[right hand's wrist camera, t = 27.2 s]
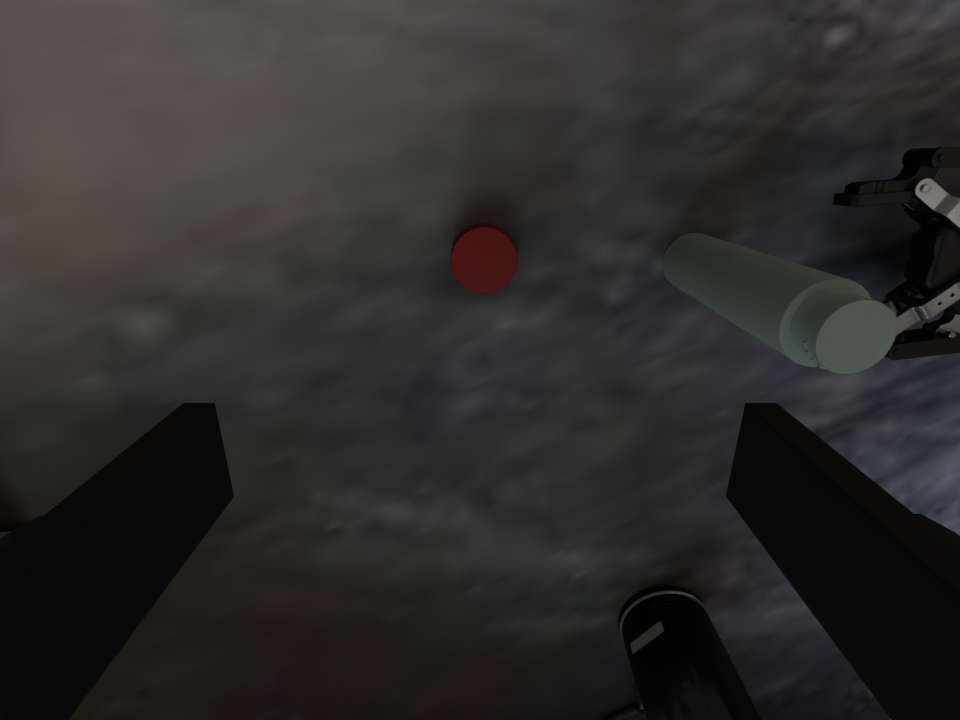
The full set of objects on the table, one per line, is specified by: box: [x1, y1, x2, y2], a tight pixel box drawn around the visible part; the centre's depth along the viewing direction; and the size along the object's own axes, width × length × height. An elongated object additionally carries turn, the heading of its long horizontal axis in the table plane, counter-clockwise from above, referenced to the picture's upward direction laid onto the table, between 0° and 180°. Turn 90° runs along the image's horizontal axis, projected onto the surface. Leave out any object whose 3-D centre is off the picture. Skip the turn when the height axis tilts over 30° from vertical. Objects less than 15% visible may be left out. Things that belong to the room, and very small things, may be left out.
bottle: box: [662, 233, 897, 374], centre depth 32 cm, size 4×4×19 cm
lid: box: [451, 223, 517, 293], centre depth 40 cm, size 5×5×2 cm
